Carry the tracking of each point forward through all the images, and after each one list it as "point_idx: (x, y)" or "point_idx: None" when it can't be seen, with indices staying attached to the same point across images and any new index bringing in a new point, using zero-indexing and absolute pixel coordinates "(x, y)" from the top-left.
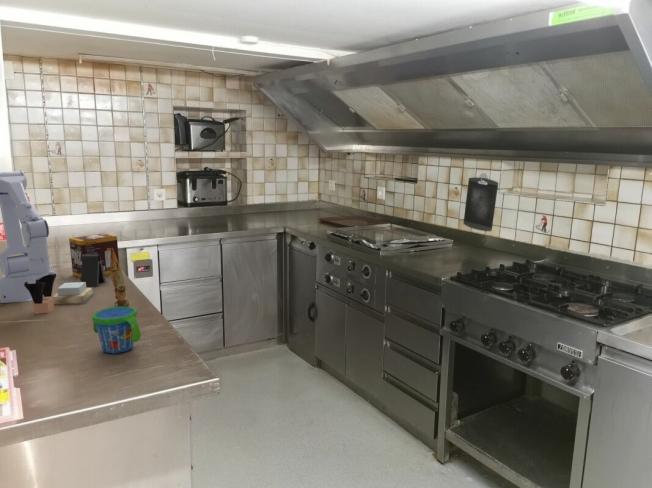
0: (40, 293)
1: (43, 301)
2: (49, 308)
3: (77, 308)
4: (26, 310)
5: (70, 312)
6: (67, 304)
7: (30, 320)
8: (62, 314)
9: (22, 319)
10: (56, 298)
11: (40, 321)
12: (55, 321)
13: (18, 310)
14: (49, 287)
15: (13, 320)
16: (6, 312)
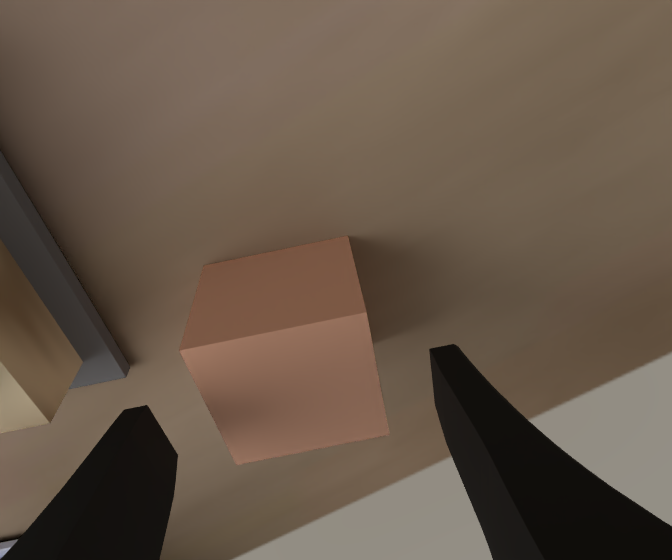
0: (552, 451)
1: (319, 381)
2: (328, 270)
3: (74, 13)
4: None
5: (258, 18)
6: (27, 215)
7: (516, 293)
8: (345, 85)
9: (479, 361)
10: (31, 371)
11: (566, 193)
12: (608, 18)
13: (267, 486)
14: (98, 532)
15: None
16: (316, 515)
